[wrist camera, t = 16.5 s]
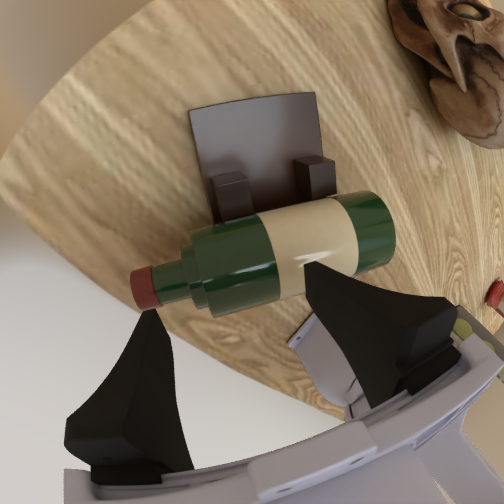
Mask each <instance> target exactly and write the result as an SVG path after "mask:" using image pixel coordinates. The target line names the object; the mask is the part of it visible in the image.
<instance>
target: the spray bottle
mask: <svg viewBox="0 0 504 504" xmlns="http://www.w3.org/2000/svg"><path fill="white" fill-rule="evenodd" d="M456 308H457V310H458V315H457V319H456V322H455V325H454V327H453V330H452V331H453V332H454V333H455V334H456V335H457V336H458V337H459V338H460V339H461V340H462V341H464V340H465V339H466V338H467V337H468V336H470V335H471V334H472V333H475V334H476V335H477V336H478V337H479V338H480V339H481V340H482V341H483V342H484V343H485V344H486V345H487V346H488V347H489V348H490V349H491V350H492V351H493V352H494V353H495V354H496V355H497V356H498V357H499V358H500V359H501V360H502V361H503V362H504V346H503V345H502V344H501V343H500V342H499V341H498V340H497V339H496V338H495V337H494V336H493V335H492V334H491V333H490V332H489V331H488V330H487V329H486V328H485V327H484V326H483V325H482V324H481V323H480V322H479V321H478V320H476V319H475V318H474V317H473V316H472V315H471V314H470V313H469V312H468V311H467V310H466V309H464V308H463V307H462V306H458V307H456ZM497 377H498V378H499V379H501V381H502V382H503V383H504V366H503V367H502V369H501V370H500V372H499V373H498V374H497Z"/></svg>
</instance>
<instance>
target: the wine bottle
mask: <svg viewBox="0 0 504 504" xmlns="http://www.w3.org/2000/svg"><path fill="white" fill-rule="evenodd" d="M190 234H191V241H192V243H189V244H185V245H182V246H181V249H180V251H181V259H180V260H176V261H173V262H169V263H165V264H161V265H158V266H152V265H151V266H147V267H144V268H140V269H136V270H133V271H132V272H131V275H130V284H131V290H132V294H133V297H134V300H135V302H136V304H137V306H138V307H139V309H140V310H141V311H146V310H149V309H153V308H159V307H163V306H164V304H168V303H172V302H176V301H180V300H184V299H188V298H192V300H193V302H194V305H195V307H196V308H197V309H203V308H207V307H209V309H210V312H211V314H212V316H213V318H218V317H222V316H226V315H229V314H233V313H237V312H240V311H244V310H248V309H251V308H255V307H258V306H262V305H265V304H269V303H272V302H275V301H280V300H284V299H287V298H290V297H294V296H297V295H300V294H303V293H306V292H305V278H304V264H306V263H309V262H312V261H317V262H319V263H322V264H324V265H326V266H328V267H330V268H332V269H334V270H336V271H338V272H340V273H343V274H345V275H347V276H349V277H354V276H357V275H360V274H362V273H365V272H368V271H371V270H374V269H377V268H379V267H382V266H385V265H386V264H388V263H389V262H390V260H391V259H392V257H393V254H394V251H395V245H396V235H395V227H394V223H393V220H392V217H391V214H390V212H389V210H388V208H387V206H386V205H385V203H384V202H383V201H382V199H381V198H380V197H379V196H377V195H376V194H375V193H373V192H371V191H359V192H354V193H349V194H344V195H339V196H334V197H327V198H322V199H318V200H313V201H308V202H304V203H299V204H294V205H290V206H286V207H281V208H277V209H272V210H268V211H264V212H259V213H256V214H253V215H249V216H245V217H241V218H236V219H232V220H228V221H224V222H220V223H216V224H212V225H208V226H204V227H200V228H197V229H193V230H191V232H190Z"/></svg>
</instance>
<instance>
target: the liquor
mask: <svg viewBox="0 0 504 504" xmlns="http://www.w3.org/2000/svg"><path fill="white" fill-rule="evenodd" d="M487 306H490V307H492V308H493V309H494V310H496V311H497V312H498V313H499V314H500V315H501V316H502V317H503V318H504V283H503V281H502V280H501V281H498V282H495V283H494V284H493V285H492V287H491V288H490V290H489V292H488V294H487Z"/></svg>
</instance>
